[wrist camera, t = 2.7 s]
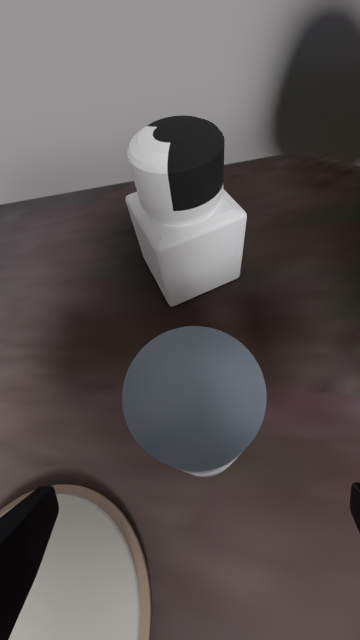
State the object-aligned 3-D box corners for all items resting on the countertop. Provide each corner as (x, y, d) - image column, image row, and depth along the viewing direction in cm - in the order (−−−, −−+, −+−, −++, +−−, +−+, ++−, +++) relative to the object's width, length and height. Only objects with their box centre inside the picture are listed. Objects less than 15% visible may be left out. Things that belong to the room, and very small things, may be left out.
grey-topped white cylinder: (253, 454, 18) (298, 422, 8) (187, 491, 17) (154, 503, 8) (216, 389, 20) (219, 306, 11) (157, 419, 19) (104, 360, 10)
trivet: (190, 706, 13) (188, 726, 12) (-74, 888, 11) (-103, 931, 10) (112, 450, 19) (106, 448, 18) (-66, 543, 17) (-84, 547, 16)
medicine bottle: (205, 232, 29) (200, 92, 18) (241, 278, 25) (259, 137, 15) (143, 257, 28) (101, 126, 17) (170, 309, 24) (137, 182, 14)
